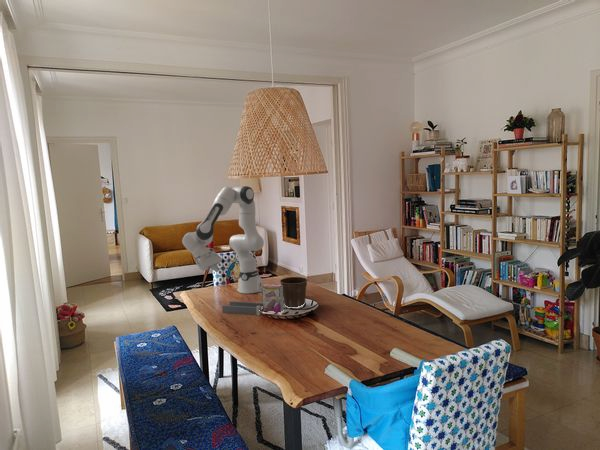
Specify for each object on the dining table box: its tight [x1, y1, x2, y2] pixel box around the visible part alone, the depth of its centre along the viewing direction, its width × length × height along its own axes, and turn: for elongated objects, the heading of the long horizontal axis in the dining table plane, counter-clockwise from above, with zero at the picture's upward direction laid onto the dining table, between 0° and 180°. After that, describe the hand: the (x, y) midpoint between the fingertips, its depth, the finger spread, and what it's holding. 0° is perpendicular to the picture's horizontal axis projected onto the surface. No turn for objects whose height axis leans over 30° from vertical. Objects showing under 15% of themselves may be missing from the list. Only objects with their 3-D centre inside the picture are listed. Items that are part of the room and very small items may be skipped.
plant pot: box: [279, 276, 309, 307], centre depth 264 cm, size 16×16×16 cm
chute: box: [221, 300, 263, 316], centre depth 260 cm, size 12×24×5 cm, turn 70°
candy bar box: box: [261, 283, 285, 312], centre depth 252 cm, size 11×5×16 cm, turn 69°
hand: (218, 271), depth 268 cm, fingers closed
